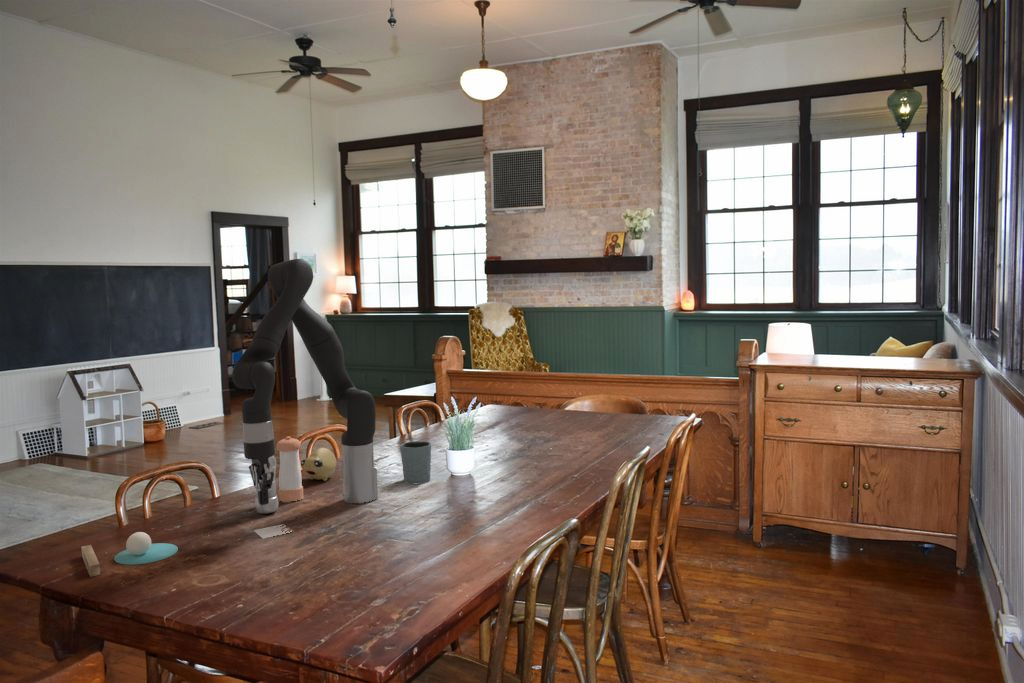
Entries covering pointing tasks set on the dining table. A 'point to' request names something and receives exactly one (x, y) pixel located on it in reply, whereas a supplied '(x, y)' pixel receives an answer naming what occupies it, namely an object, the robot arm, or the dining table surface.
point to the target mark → (147, 554)
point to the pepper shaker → (289, 470)
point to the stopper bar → (90, 560)
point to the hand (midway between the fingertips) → (263, 503)
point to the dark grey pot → (416, 461)
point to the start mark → (271, 531)
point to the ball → (138, 543)
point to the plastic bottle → (269, 493)
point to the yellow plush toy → (319, 464)
